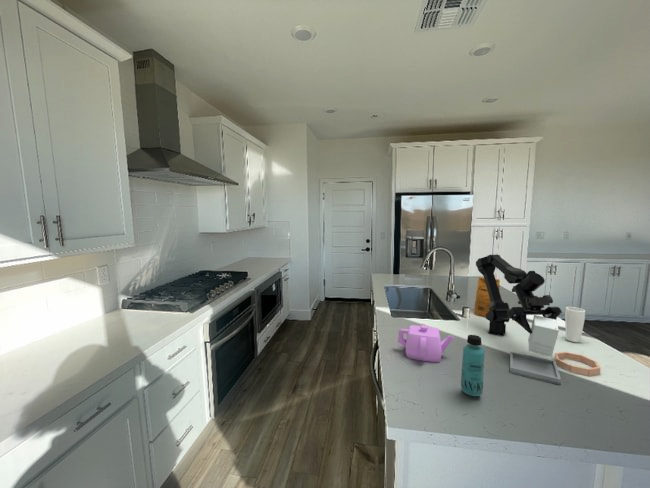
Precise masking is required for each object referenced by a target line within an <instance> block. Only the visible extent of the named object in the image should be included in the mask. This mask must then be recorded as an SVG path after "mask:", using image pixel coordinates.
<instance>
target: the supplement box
mask: <svg viewBox="0 0 650 488" xmlns="http://www.w3.org/2000/svg"><path fill="white" fill-rule="evenodd" d="M530 328H531V330H532V334H530V333H529V336H528V351H529V352H531V353H535V354H539V355H542V356H546V357H548V358H549V357H550V358H552V357H553V353H554V349H555V346H556V342H557V340H558V336H559V332H560V329H559V326H558V321H557V319H556V320H555V319H550V318H545V317H543V316H542V315H533V319H532V323H531V326H530Z"/></svg>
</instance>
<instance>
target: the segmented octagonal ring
mask: <svg viewBox="0 0 650 488" xmlns="http://www.w3.org/2000/svg"><path fill="white" fill-rule="evenodd" d="M553 357H554V360H553V361H556V364H557V367H559V368H561V369H563V370H565V371H568V372H570V373H573V374H576V375H582V376H586V377H592V376H593V377H594V376H600V375H601V366H600V365H599V363H598V361H597V360H594V359H592V358H590V357H587V356H586V355H583V354H580V353H579V354H578V353H575V352H574V353H573V352H569V351H561V352H554V356H553ZM564 359H565V360H571V361H576V362H580V363H583V364H585V365H586V366H587V365H588V366H590V368H589V367H588V368H587V367H582V366H577V365H573V364H570V363H568V362H565V361H564Z"/></svg>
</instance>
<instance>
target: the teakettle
mask: <svg viewBox="0 0 650 488" xmlns="http://www.w3.org/2000/svg"><path fill="white" fill-rule="evenodd" d="M404 334H406V335H407V336H406V338H404ZM397 338H398V339H397V342H398V343H399V344H400V345H402V346H403V347H405V354H406V357H407V358H408V359H413V360H416V361H421V362H422V361H423V362H431V363H440V362H441V359H442V354H443V353H444V352H445V350H446V349H447V348H448V346H449V345H451V342H452V341H453V340H454V336H453V335H449V334H448V336H447V337H446V338H444V339H443V340H441V335H440V329H439V328H437V327H433V326H427V325H426V324H423V323H422V324H421V325H417V324H416V325H415V324H412V325H411V324H410V325H409V328H402V327H401V328H399V330H398V337H397Z"/></svg>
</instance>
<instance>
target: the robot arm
mask: <svg viewBox="0 0 650 488" xmlns="http://www.w3.org/2000/svg"><path fill="white" fill-rule="evenodd" d="M475 267H477V271H478V272H479V273H480V274H481V275H482V277H483V278H484V279H485V283H486V287H487V290H488V294H489V297H490V301H491V304H490V306H489V312H488V313H487V314H486V317H485V319H486V320H488V321H489V325H488V327H489V329H488V334H491V335H495V336H496V335H498V336H502V337H504V336H505V334H506V330H507V329H506V328H507V324H506V323H509V322H510V320H511V321H514V322H515V323H517V324H518V325H519V326H521V327H522V328H523V329H524V330H525V331H527V332H528V334H529V335H530V334H532V330H531V325H530V323H529V321H528V319H527V316H534V315H536V316H542V317H545V318H550V319H555V320H557V318H558V317H559V316H561V314H563V312H562V309H561V308H560V307H559V306H551V304H553V303H554V300H553V297H552V296H551V295H550V294H544V295H542V296H538V295H535V294H534V292H535V291H537V290H538V289H539V288H540V287H541V286H543V285H544V284H545V282H546V281H545V278H544V276H542V275H541V274H539V273H537V272H536V271H535V270H529V271H528V272H526V271H525V270H523V269H522V268H517V267H515V266H512V265H511V263H509V262H507V261H506V260H505V259H503V258H502V257H501V254H489V255H486V256H483V257H480V258H478V259H477V260H476V262H475ZM496 269H498V270H499V271H500V272H501V273H502V274H503V275H504V276H503V278H504V280H506V282H507V283H508V284H510V285H511V284H516V285H512V289H511V293H515V295H516V297H517V298H518V301H517V304H518V305H520V306H512V307H511V308H510V305H509V303H508V302H504V301H503V299H502V296H501V293H500V292H501V291H500V288H499V289H498V285H497V282H496V279H497V278H496V275H495V271H496ZM499 291H500V292H499ZM545 306H548V307H546V308H545ZM544 308H545V309H544Z"/></svg>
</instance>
